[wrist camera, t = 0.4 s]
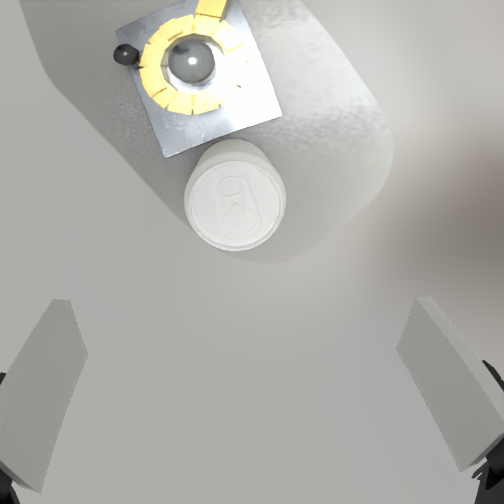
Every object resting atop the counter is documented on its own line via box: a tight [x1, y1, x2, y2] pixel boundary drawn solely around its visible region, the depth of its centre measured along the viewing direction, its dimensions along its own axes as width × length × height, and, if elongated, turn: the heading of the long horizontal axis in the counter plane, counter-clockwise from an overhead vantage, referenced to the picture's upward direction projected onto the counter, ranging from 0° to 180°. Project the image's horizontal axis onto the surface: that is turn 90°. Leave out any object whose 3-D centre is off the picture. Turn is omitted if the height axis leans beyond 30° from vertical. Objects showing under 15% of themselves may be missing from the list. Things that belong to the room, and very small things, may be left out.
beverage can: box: [184, 139, 286, 251], centre depth 29 cm, size 8×8×12 cm
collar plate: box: [113, 0, 282, 159], centre depth 26 cm, size 16×13×6 cm
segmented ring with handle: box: [139, 0, 249, 115], centre depth 24 cm, size 16×10×4 cm, turn 164°
